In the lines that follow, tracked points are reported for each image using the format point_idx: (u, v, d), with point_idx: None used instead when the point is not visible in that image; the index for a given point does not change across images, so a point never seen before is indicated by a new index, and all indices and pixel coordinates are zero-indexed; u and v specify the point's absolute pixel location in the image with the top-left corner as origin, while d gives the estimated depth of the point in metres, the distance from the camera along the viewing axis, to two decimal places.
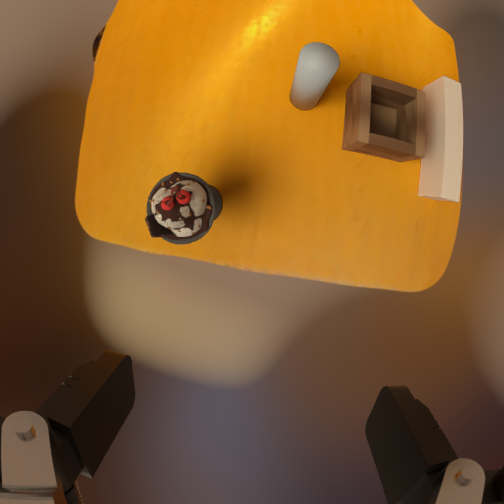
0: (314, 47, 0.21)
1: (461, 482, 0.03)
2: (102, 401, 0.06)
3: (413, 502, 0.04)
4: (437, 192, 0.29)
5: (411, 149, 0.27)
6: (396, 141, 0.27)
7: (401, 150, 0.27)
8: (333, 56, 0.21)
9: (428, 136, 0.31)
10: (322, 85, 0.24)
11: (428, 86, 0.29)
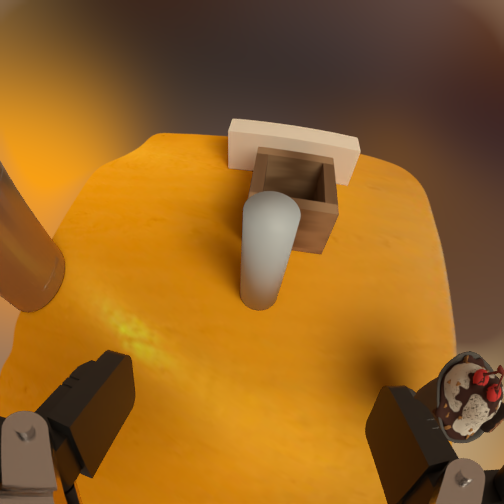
0: (253, 215, 0.18)
1: (461, 482, 0.03)
2: (102, 401, 0.06)
3: (413, 502, 0.04)
4: (354, 156, 0.33)
5: (329, 167, 0.29)
6: (326, 179, 0.28)
7: (334, 176, 0.28)
8: (266, 196, 0.19)
9: None
10: None
11: (230, 157, 0.36)
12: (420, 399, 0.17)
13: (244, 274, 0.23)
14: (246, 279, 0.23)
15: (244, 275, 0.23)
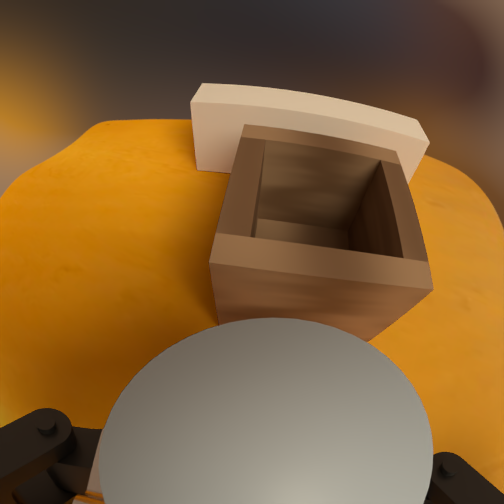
0: None
1: None
2: None
3: None
4: (418, 150, 0.17)
5: (394, 169, 0.13)
6: (395, 197, 0.12)
7: (407, 189, 0.12)
8: (241, 366, 0.03)
9: None
10: None
11: (199, 152, 0.20)
12: None
13: None
14: None
15: None
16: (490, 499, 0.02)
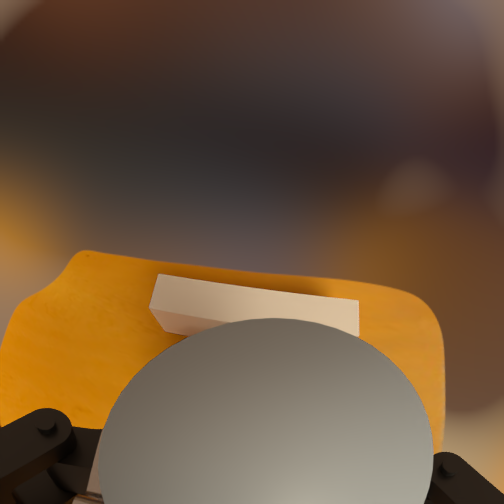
0: None
1: None
2: None
3: None
4: None
5: None
6: None
7: None
8: (241, 366, 0.03)
9: None
10: None
11: (164, 326, 0.24)
12: None
13: None
14: None
15: None
16: (490, 499, 0.02)
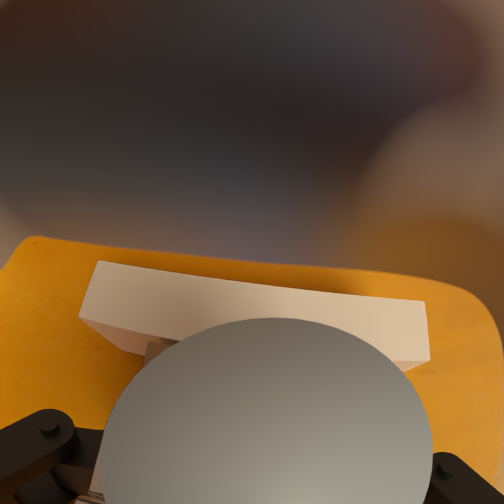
0: None
1: None
2: None
3: None
4: (410, 365, 0.12)
5: None
6: None
7: None
8: (241, 365, 0.03)
9: None
10: None
11: (116, 344, 0.15)
12: None
13: None
14: None
15: None
16: (488, 499, 0.03)
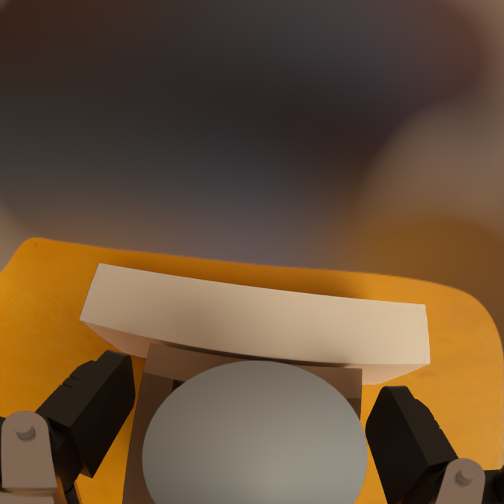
0: (180, 485, 0.03)
1: (461, 482, 0.03)
2: (102, 401, 0.06)
3: (413, 502, 0.04)
4: (411, 368, 0.12)
5: None
6: None
7: None
8: (235, 392, 0.04)
9: None
10: None
11: (117, 346, 0.15)
12: None
13: None
14: None
15: None
16: None
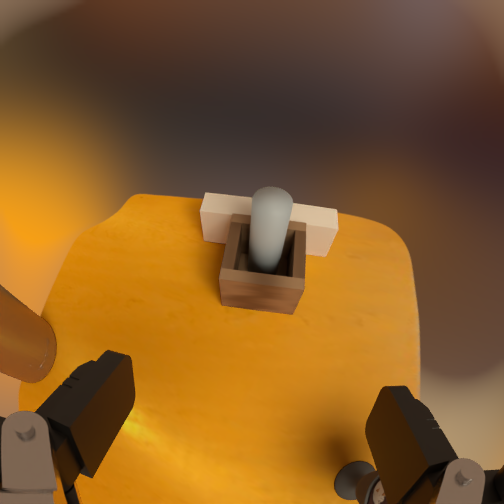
0: (259, 203, 0.25)
1: (461, 482, 0.03)
2: (101, 401, 0.06)
3: (413, 502, 0.04)
4: (331, 233, 0.34)
5: (301, 234, 0.31)
6: (296, 249, 0.30)
7: (304, 245, 0.31)
8: (268, 190, 0.26)
9: None
10: None
11: (205, 233, 0.37)
12: (360, 488, 0.17)
13: (251, 250, 0.30)
14: (253, 254, 0.31)
15: (251, 251, 0.31)
16: None
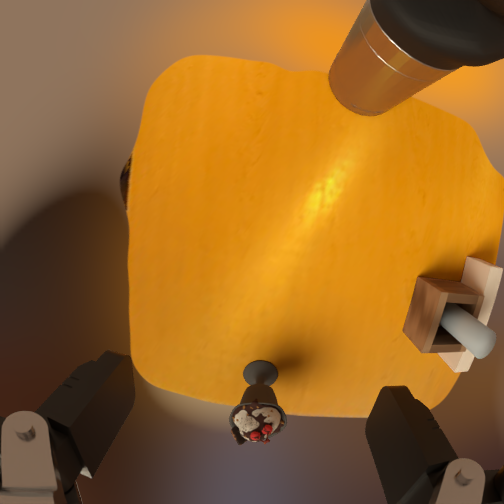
0: (486, 336, 0.24)
1: (461, 482, 0.03)
2: (102, 401, 0.06)
3: (413, 502, 0.04)
4: (453, 366, 0.33)
5: (458, 348, 0.30)
6: (449, 346, 0.30)
7: (450, 351, 0.30)
8: (493, 340, 0.24)
9: None
10: None
11: (473, 261, 0.33)
12: (266, 391, 0.33)
13: (456, 312, 0.30)
14: (453, 313, 0.30)
15: (455, 312, 0.30)
16: None
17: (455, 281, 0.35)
